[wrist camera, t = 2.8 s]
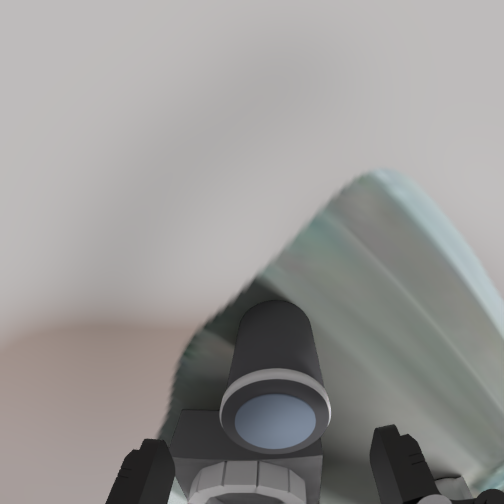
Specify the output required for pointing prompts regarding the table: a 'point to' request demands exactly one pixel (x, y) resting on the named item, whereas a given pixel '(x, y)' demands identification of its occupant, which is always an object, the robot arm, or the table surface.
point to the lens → (275, 382)
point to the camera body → (239, 467)
